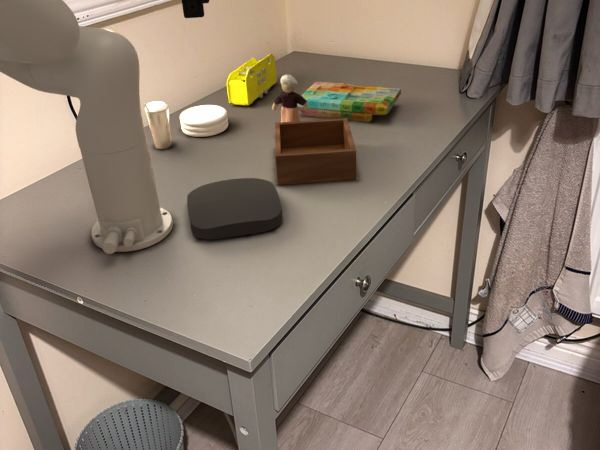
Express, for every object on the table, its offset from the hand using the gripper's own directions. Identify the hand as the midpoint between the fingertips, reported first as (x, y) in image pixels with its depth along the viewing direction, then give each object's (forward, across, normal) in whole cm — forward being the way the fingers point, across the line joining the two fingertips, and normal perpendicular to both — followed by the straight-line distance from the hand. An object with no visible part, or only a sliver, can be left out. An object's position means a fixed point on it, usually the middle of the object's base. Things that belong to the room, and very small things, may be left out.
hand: (197, 10), depth 105 cm
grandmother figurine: (+28, +11, -14) cm, 34 cm away
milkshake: (+28, +10, +12) cm, 32 cm away
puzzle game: (+28, +22, -27) cm, 45 cm away
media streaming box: (+28, -19, -4) cm, 34 cm away
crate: (+28, -2, -18) cm, 34 cm away
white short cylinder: (+28, +18, +4) cm, 34 cm away
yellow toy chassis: (+28, +36, -6) cm, 46 cm away
